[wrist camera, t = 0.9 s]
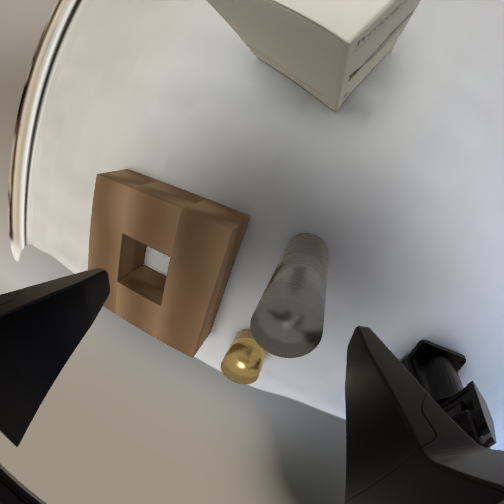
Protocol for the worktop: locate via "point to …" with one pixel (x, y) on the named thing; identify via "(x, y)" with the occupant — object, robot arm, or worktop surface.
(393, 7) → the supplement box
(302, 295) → the long pin
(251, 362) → the short pin
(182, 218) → the hole block
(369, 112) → the worktop surface
